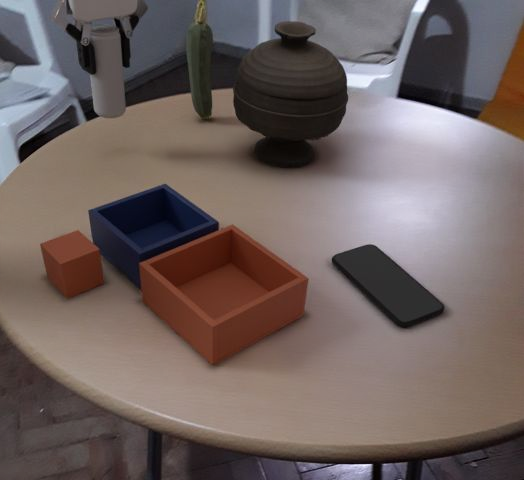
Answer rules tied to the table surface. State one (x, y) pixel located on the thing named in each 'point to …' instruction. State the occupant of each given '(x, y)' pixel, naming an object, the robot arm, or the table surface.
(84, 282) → the terracotta block
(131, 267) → the navy bin
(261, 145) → the pot
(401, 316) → the smartphone
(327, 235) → the table surface
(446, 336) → the table surface
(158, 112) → the table surface
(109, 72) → the beverage can
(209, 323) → the terracotta bin
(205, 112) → the vegetable
